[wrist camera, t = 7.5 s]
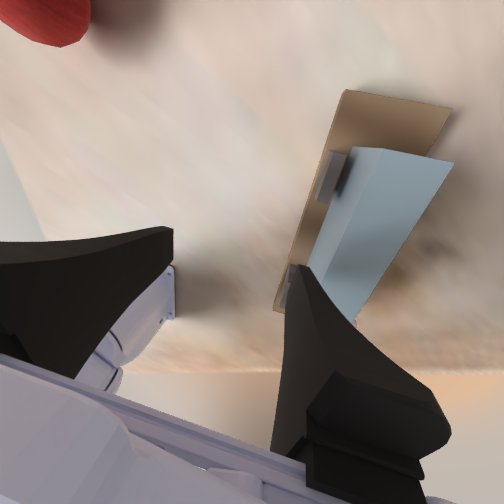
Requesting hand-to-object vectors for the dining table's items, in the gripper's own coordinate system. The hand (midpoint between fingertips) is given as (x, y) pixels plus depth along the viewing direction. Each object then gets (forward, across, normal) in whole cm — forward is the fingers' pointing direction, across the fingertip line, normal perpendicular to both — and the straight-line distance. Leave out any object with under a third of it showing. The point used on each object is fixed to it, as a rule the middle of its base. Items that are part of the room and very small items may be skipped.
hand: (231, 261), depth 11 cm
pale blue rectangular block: (+8, -7, 0) cm, 10 cm away
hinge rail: (+9, -7, 0) cm, 12 cm away
